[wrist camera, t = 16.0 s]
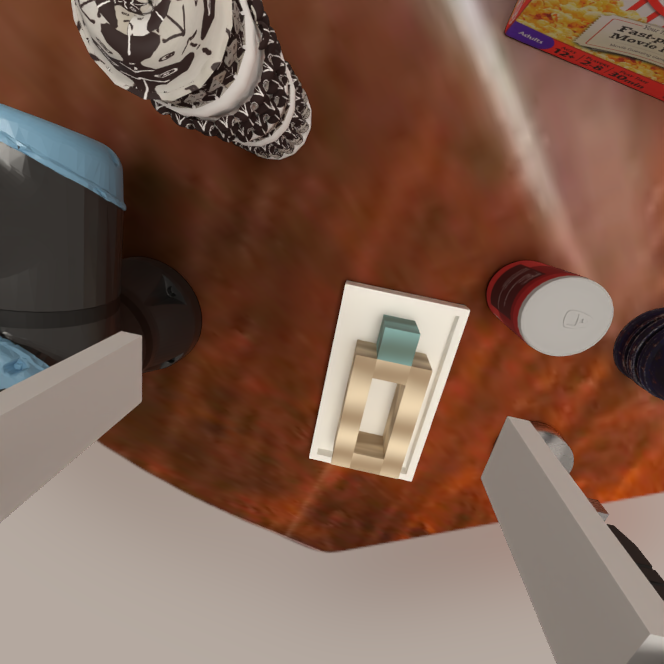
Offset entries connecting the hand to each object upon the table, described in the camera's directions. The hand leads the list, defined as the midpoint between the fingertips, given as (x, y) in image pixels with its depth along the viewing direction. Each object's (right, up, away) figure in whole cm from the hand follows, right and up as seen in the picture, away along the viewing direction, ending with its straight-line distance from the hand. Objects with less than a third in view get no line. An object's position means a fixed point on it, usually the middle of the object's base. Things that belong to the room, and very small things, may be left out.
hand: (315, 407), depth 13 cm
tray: (+7, -4, +36) cm, 37 cm away
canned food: (+23, +8, +30) cm, 39 cm away
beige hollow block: (+7, -5, +35) cm, 36 cm away
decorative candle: (-6, +26, +26) cm, 38 cm away
